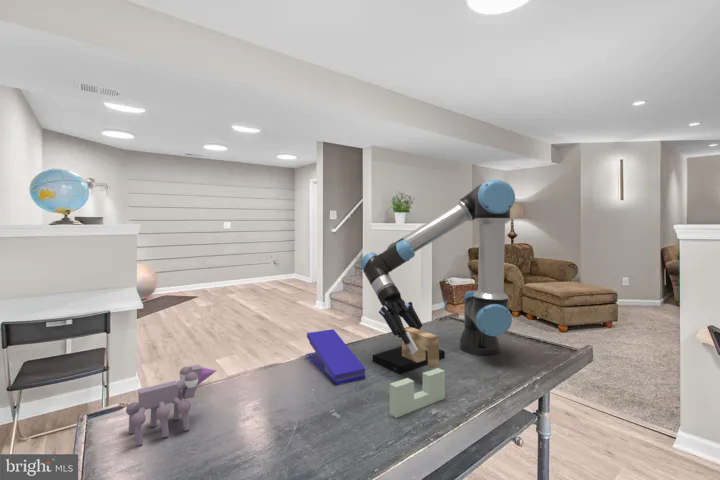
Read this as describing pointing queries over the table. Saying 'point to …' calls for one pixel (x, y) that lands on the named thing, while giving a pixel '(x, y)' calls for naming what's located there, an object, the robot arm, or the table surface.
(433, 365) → the tan wooden block
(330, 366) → the blue foot pedal
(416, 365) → the external hard drive
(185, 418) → the grey toy animal figure
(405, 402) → the green u-shaped block
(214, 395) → the table surface
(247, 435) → the table surface
